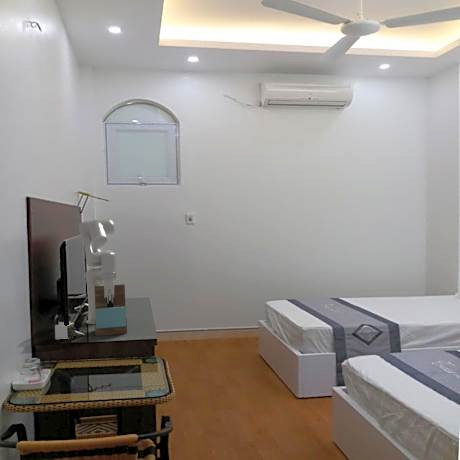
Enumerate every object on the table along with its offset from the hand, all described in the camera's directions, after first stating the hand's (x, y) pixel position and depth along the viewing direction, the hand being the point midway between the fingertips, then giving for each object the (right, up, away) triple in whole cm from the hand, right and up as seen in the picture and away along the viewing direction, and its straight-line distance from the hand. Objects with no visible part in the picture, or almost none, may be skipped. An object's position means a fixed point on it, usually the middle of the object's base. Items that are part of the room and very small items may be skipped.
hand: (110, 310), depth 262 cm
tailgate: (+1, -8, -4) cm, 9 cm away
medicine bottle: (-22, -13, -7) cm, 26 cm away
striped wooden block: (-1, -12, +4) cm, 13 cm away
